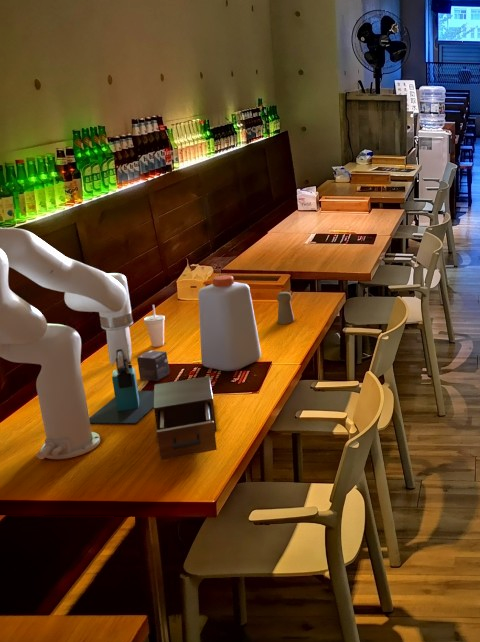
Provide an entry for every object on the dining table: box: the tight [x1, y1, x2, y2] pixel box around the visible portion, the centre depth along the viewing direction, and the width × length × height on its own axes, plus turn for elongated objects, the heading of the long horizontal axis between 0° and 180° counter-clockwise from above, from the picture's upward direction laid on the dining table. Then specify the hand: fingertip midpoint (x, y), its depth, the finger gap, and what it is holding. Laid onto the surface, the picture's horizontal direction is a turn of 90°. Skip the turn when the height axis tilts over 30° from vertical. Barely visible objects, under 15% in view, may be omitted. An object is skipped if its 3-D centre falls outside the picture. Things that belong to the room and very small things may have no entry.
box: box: [136, 350, 170, 382], centre depth 218 cm, size 6×6×7 cm
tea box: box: [111, 366, 139, 411], centre depth 198 cm, size 5×5×10 cm
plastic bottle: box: [198, 274, 262, 372], centre depth 227 cm, size 15×15×28 cm
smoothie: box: [143, 304, 166, 348], centre depth 244 cm, size 6×6×14 cm
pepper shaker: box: [276, 291, 295, 325], centre depth 267 cm, size 6×6×11 cm
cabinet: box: [153, 375, 218, 432], centre depth 189 cm, size 16×14×9 cm
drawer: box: [155, 402, 218, 461], centre depth 176 cm, size 19×12×7 cm, turn 24°
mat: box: [89, 390, 154, 426], centre depth 199 cm, size 20×14×1 cm
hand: (126, 382), depth 197 cm, fingers closed on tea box, 5 cm apart
